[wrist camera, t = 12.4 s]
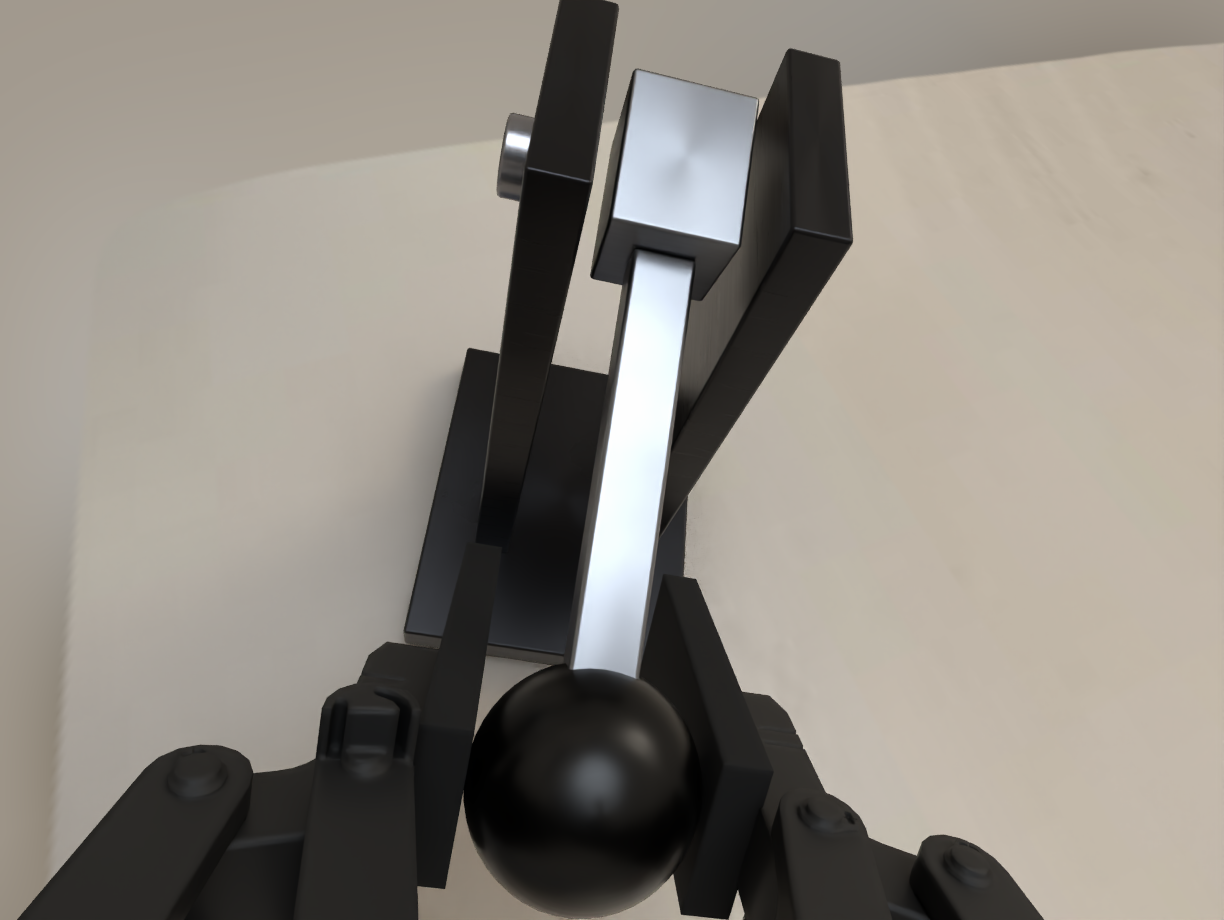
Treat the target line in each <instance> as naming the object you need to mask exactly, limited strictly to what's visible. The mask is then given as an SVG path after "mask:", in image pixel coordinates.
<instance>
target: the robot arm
mask: <svg viewBox="0 0 1224 920" xmlns="http://www.w3.org/2000/svg"><path fill="white" fill-rule="evenodd" d="M501 552H502V547H497V546H491V545H485V544H479V543H473V542H467V545H466V549H465V553H464V556H463V560H462V564H461V568H460V572H459V575H458V579H457V583H456V587H455V591H454V594H453V598H452V602H451V606H450V609H449V613H448V617H447V621H446V625H445V628H444V632H443V636H442V640H441V644H440V647H439V649H433V648H426V647H419V646H412V645H405V644H399V643H392V642H386V643H385V644H383V645H382V646H381V647H379V648H378V649H376V650H375V651H374V652H372V653H371V654H370V655H369V656H368V658H367V661H366V663H365V666H364V668H363V670H362V674H361V675H360V677H359V680H358V682H357V684H353V685H350V686H346V687H343V688H340V689H338V690H337V691H335V692H334V693H333V694H331V695H330V696H328V697H327V699H326V701H325V703H324V705H323V707H322V712H321V720H320V728H319V736H318V744H317V752H316V759H314V760H312V761H310V762H308V763H306V764H303V765H300V766H298V767H295V768H291V769H285V770H279V771H271V772H261V773H253V770H252V767H251V764H250V761H249V760H248V759H247V758H246V757H245V756H243V755H242V754H241V753H240V752H238V751H236V750H233V749H230V748H227V747H224V746H219V745H196V746H190V747H185V748H179V749H177V750H174V751H172V752H170V753H167V754H165V755H163V756H160V757H159V758H157V759H156V760H155V761H154V762H152V763H151V764H150V765H149V766H148V767H146V768H145V769H144V770H143V771H142V773H141V774H140V775H139V776H138V777H137V779H136V780H135V781H134V782H133V783H132V784H131V786H130V787H129V788H128V789H127V790H126V792H125V793H124V794H123V795H122V796H121V797H120V799H119V800H118V801H117V802H116V803H115V805H114V806H113V807H112V808H111V809H110V810H109V812H108V813H107V814H106V815H105V816H104V818H103V819H102V820H101V821H100V822H99V823H98V825H97V826H96V827H95V828H94V829H93V831H92V832H91V833H90V834H89V835H88V836H87V838H86V839H85V840H84V841H83V842H82V844H81V845H80V846H79V847H78V848H77V849H76V851H75V852H74V853H73V854H72V855H71V857H70V858H69V859H68V860H67V861H66V862H65V864H64V865H63V866H62V867H61V868H60V870H59V871H58V872H57V873H56V874H55V875H54V877H53V878H52V879H51V880H50V881H49V882H48V884H47V885H46V886H45V887H44V888H43V890H42V891H41V892H40V893H39V894H38V896H37V897H36V898H35V899H34V900H33V901H32V903H31V904H30V905H29V906H28V907H27V909H26V910H25V911H24V912H23V913H22V914H21V916H20V917H19V918H18V919H17V920H418V893H417V886H421V887H431V888H440V889H445V886H446V881H447V875H448V870H449V865H450V859H451V854H452V849H453V843H454V838H455V833H456V827H457V822H458V816H459V811H460V806H461V800H462V795H463V790H464V784H465V779H466V774H467V768H468V763H469V757H470V752H471V747H472V741H473V736H474V730H475V724H476V717H477V711H478V704H479V698H480V691H481V684H482V678H483V671H484V665H485V658H486V651H487V645H488V638H489V632H490V625H491V618H492V612H493V605H494V599H495V592H496V585H497V579H498V572H499V566H500V559H501ZM640 676H641V677H643V678H644V679H645V680H647V681H648V682H650V683H651V684H652V685H654V686H655V687H656V688H657V689H659V690H660V691H661V692H662V693H663V694H664V695H665V696H666V697H667V698H668V699H669V700H670V701H671V703H672V704H673V705H674V706H675V707H676V709H677V710H678V711H679V713H680V715H681V716H682V718H683V719H684V721H685V723H686V724H687V726H688V729H689V731H690V733H691V735H692V737H693V740H694V743H695V746H696V750H697V753H698V756H699V761H700V767H701V772H702V804H701V810H700V816H699V821H698V824H697V827H696V831H695V834H694V837H693V839H692V842H691V844H690V846H689V849H688V851H687V853H686V855H685V856H684V858H683V860H682V861H681V863H680V865H679V866H678V868H677V869H676V870H675V871H674V873H673V874H674V880H675V885H676V890H677V896H678V901H679V906H680V912H681V915H689V916H698V917H707V918H717V919H726V920H729V916H730V913H731V910H732V907H733V903H734V900H735V897H736V894H737V890H738V891H739V895H740V899H741V902H742V906H743V909H744V913H745V914H744V917H743V920H1044V919H1043V918H1042V916H1041V915H1040V914H1039V912H1038V911H1037V910H1036V908H1035V907H1034V906H1033V905H1032V903H1031V902H1030V901H1029V899H1028V898H1027V897H1026V895H1025V894H1024V893H1023V891H1022V890H1021V889H1020V888H1019V886H1018V885H1017V884H1016V882H1015V881H1014V880H1013V878H1012V877H1011V876H1010V874H1009V873H1008V872H1007V871H1006V870H1005V869H1004V868H1003V867H1002V865H1001V864H1000V863H999V862H998V861H997V860H996V859H995V858H994V857H992V856H991V855H989V854H988V853H986V852H985V851H984V850H982V849H981V848H980V847H978V846H976V845H974V844H972V843H969V842H968V841H966V840H963V839H960V838H956V837H952V836H947V835H934V836H929V837H928V838H927V839H925V840H924V841H923V842H922V844H921V846H920V849H919V852H918V854H917V856H916V855H913V854H910V853H907V852H904V851H902V850H899V849H896V848H893V847H890V846H888V845H885V844H882V843H880V842H878V841H875V840H873V839H871V838H869V837H868V834H867V831H866V828H865V826H864V824H863V822H862V820H861V818H860V817H859V815H858V814H857V813H856V812H854V811H853V810H852V809H851V808H850V807H849V806H848V805H847V804H846V803H844V802H842V801H841V800H839V799H838V798H836V797H834V796H833V795H830V794H827V793H826V792H825V790H824V788H823V786H822V784H821V782H820V780H819V778H818V776H817V774H816V772H815V769H814V767H813V765H812V763H811V761H810V759H809V757H808V755H807V753H806V751H805V749H803V745H802V742H801V740H800V738H799V736H798V735H797V734H796V730H795V728H794V726H793V724H792V722H791V720H790V717H789V715H788V713H787V712H786V711H785V710H784V709H783V708H782V707H781V706H780V705H779V704H778V703H776V702H775V701H774V700H773V699H772V698H771V697H770V696H768V695H761V694H754V693H747V692H742V691H741V689H740V686H739V684H738V681H737V679H736V676H735V674H734V671H733V669H732V666H731V664H730V662H729V659H728V657H727V654H726V652H725V649H724V647H723V644H722V642H721V639H720V637H719V634H718V632H717V629H716V627H715V625H714V622H713V620H712V617H711V615H710V612H709V610H708V607H707V605H706V602H705V600H704V597H703V595H702V592H701V590H700V588H699V585H698V583H697V580H696V579H692V578H686V577H680V576H674V575H668V574H663V577H662V581H661V585H660V589H659V593H658V598H657V602H656V606H655V610H654V614H653V618H652V622H651V626H650V630H649V634H648V638H647V642H646V647H645V651H644V655H643V659H642V663H641V669H640Z"/></svg>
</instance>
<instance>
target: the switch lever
mask: <svg viewBox="0 0 1224 920" xmlns="http://www.w3.org/2000/svg"><path fill="white" fill-rule="evenodd" d="M758 107H759V100H758V99H757V98H755V97H751V96H747V95H743V94H739V93H735V92H731V91H726V90H723V89H718V88H714V87H711V86H706V85H702V84H698V83H694V82H690V81H686V80H682V79H678V78H674V77H670V76H666V75H662V74H658V73H653V72H650V71H645V70H641V69H635V70H634V71H633V73H632V77H631V80H630V84H629V88H628V91H627V95H626V98H625V102H624V105H623V109H622V112H621V116H620V119H619V123H618V126H617V130H616V133H615V137H614V141H613V144H612V148H611V153H610V159H609V165H608V171H607V177H606V183H605V189H604V195H603V201H602V207H601V213H600V219H599V225H598V231H597V237H596V243H595V249H594V255H593V261H592V267H591V273H590V276H591V278H592V279H595V280H600V281H605V282H610V283H614V284H619V285H622V291H621V297H620V304H619V310H618V316H617V323H616V329H615V336H614V342H613V348H612V355H611V361H610V367H609V374H608V380H607V386H606V393H605V399H604V405H603V412H602V418H601V425H600V431H599V437H598V444H597V450H596V456H595V463H594V469H593V475H592V482H591V488H590V495H589V501H588V507H587V514H586V520H585V526H584V533H583V539H582V545H581V552H580V558H579V564H578V571H577V577H576V584H575V590H574V596H573V603H572V609H571V615H570V622H569V628H568V634H567V641H566V647H565V653H564V660H563V664H558V665H554V666H551V667H548V668H545V669H542V670H540V671H538V672H536V673H534V674H532V675H530V676H528V677H526V678H525V679H523V680H522V681H520V682H519V683H517V684H516V685H514V686H513V687H512V688H511V689H510V690H509V691H507V692H506V693H505V694H504V695H503V696H502V697H501V698H500V699H499V700H498V702H497V703H496V704H495V705H494V706H493V707H492V709H491V710H490V711H489V713H488V714H487V716H486V717H485V719H484V720H483V722H482V724H481V726H480V728H479V730H478V732H477V733H476V735H475V738H474V740H473V743H472V747H471V752H470V757H469V763H468V768H467V774H466V779H465V784H464V808H465V815H466V821H467V825H468V828H469V832H470V835H471V839H472V841H473V843H474V846H475V848H476V850H477V853H478V855H479V856H480V858H481V860H482V861H483V863H484V865H485V866H486V868H487V869H488V870H489V872H490V873H491V874H492V876H493V877H494V878H495V879H496V880H497V881H498V883H500V884H501V885H502V886H503V887H504V888H505V889H506V890H507V891H508V892H509V893H510V894H511V895H513V896H514V897H516V898H517V899H518V900H520V901H521V902H523V903H524V904H526V905H528V906H530V907H532V908H534V909H536V910H538V911H541V912H544V913H547V914H550V915H553V916H558V917H564V918H571V919H591V918H600V917H605V916H609V915H613V914H617V913H619V912H622V911H624V910H626V909H629V908H631V907H633V906H635V905H637V904H638V903H640V902H642V901H643V900H645V899H646V898H648V897H649V896H650V895H652V894H653V893H654V892H656V891H657V890H658V889H659V888H660V887H661V886H662V885H663V884H664V883H665V882H666V881H667V880H668V879H669V878H670V877H671V875H672V874H673V873H674V871H675V870H676V869H677V868H678V866H679V865H680V863H681V861H682V860H683V858H684V856H685V855H686V853H687V851H688V849H689V846H690V844H691V842H692V839H693V837H694V834H695V831H696V827H697V824H698V821H699V816H700V810H701V804H702V772H701V767H700V761H699V756H698V753H697V750H696V746H695V743H694V740H693V737H692V735H691V733H690V731H689V729H688V726H687V724H686V723H685V721H684V719H683V718H682V716H681V715H680V713H679V711H678V710H677V709H676V707H675V706H674V705H673V704H672V703H671V701H670V700H669V699H668V698H667V697H666V696H665V695H664V694H663V693H662V692H661V691H660V690H659V689H657V688H656V687H655V686H654V685H652V684H651V683H650V682H648V681H647V680H645V679H644V678H643V677H641V676H640V669H641V662H642V655H643V647H644V640H645V633H646V626H647V618H648V611H649V604H650V596H651V589H652V582H653V575H654V567H655V560H656V553H657V545H658V538H659V531H660V524H661V516H662V509H663V502H664V495H665V487H666V480H667V473H668V465H669V458H670V451H671V444H672V436H673V429H674V422H675V414H676V407H677V400H678V393H679V385H680V378H681V371H682V363H683V356H684V349H685V342H686V334H687V327H688V320H689V313H690V305H691V300H696V301H702V300H703V299H704V297H705V296H706V295H707V293H708V292H709V290H710V289H711V288H712V286H713V285H714V283H715V282H716V281H717V279H718V278H719V276H720V275H721V274H722V272H723V271H724V269H725V268H726V267H727V265H728V264H729V262H730V261H731V260H732V258H733V257H734V255H735V254H736V253H737V251H738V250H739V248H740V247H741V243H742V235H743V227H744V219H745V211H746V203H747V195H748V187H749V179H750V171H751V163H752V155H753V147H754V139H755V131H756V123H757V115H758Z"/></svg>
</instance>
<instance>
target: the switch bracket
mask: <svg viewBox="0 0 1224 920" xmlns="http://www.w3.org/2000/svg"><path fill="white" fill-rule="evenodd" d="M618 12H619V6H618V4H616V3H613V2H609V1H605V0H560V2H559V6H558V11H557V15H556V20H555V25H554V29H553V34H552V39H551V43H550V48H549V53H548V58H547V62H546V67H545V72H544V77H543V81H542V86H541V91H540V95H539V100H538V105H537V109H536V114H535V118H533V117H529V116H524V115H520V114H516V113H511V114H510V115H509V117H508V120H507V124H506V128H505V133H504V138H503V144H502V149H501V156H500V162H499V170H498V178H497V195H498V196H499V197H500V198H505V199H509V200H514V201H518V202H519V210H518V218H517V225H516V233H515V241H514V248H513V256H512V264H511V271H510V279H509V287H508V294H507V302H506V310H505V317H504V325H503V333H502V340H501V348H500V354H498V353H493V352H488V351H483V350H477V349H472V348H468V350H467V353H466V357H465V362H464V366H463V371H462V375H461V380H460V384H459V388H458V393H457V397H456V402H455V406H454V410H453V415H452V419H451V424H450V428H449V433H448V437H447V441H446V446H445V450H444V455H443V459H442V463H441V468H440V472H439V477H438V481H437V486H436V490H435V494H434V499H433V503H432V508H431V512H430V516H429V521H428V525H427V530H426V534H425V538H424V543H423V547H422V552H421V556H420V561H419V565H418V569H417V574H416V578H415V583H414V587H413V591H412V596H411V600H410V605H409V609H408V614H407V618H406V622H405V627H404V638H405V642H406V643H408V644H415V645H422V646H428V647H435V648H439V647H440V644H441V640H442V636H443V632H444V628H445V625H446V621H447V617H448V613H449V609H450V606H451V602H452V598H453V594H454V591H455V587H456V583H457V579H458V575H459V572H460V568H461V564H462V560H463V556H464V553H465V549H466V545H467V542H473V543H479V544H485V545H491V546H497V547H502V552H501V559H500V566H499V572H498V579H497V585H496V592H495V599H494V605H493V612H492V618H491V625H490V632H489V638H488V645H487V651H486V655H490V656H497V657H504V658H511V659H518V660H525V661H531V662H538V663H545V664H552V665H558V664H563V660H564V653H565V647H566V641H567V634H568V628H569V622H570V615H571V609H572V603H573V596H574V590H575V584H576V577H577V571H578V564H579V558H580V552H581V545H582V539H583V533H584V526H585V520H586V514H587V507H588V501H589V495H590V488H591V482H592V475H593V469H594V463H595V456H596V450H597V444H598V437H599V431H600V425H601V418H602V412H603V405H604V399H605V393H606V386H607V380H608V375H606V374H601V373H596V372H591V371H585V370H580V369H575V368H570V367H565V366H560V365H555V364H551V362H552V358H553V354H554V349H555V345H556V341H557V336H558V332H559V328H560V323H561V319H562V315H563V310H564V306H565V302H566V297H567V293H568V289H569V284H570V280H571V276H572V271H573V267H574V263H575V258H576V254H577V250H578V245H579V241H580V237H581V232H582V228H583V224H584V219H585V215H586V211H587V206H588V202H589V198H590V193H591V189H592V185H593V178H594V172H595V165H596V158H597V152H598V145H599V138H600V132H601V125H602V118H603V112H604V104H605V98H606V92H607V85H608V78H609V72H610V65H611V57H612V52H613V45H614V38H615V31H616V24H617V18H618ZM852 243H853V234H852V220H851V206H850V193H849V179H848V165H847V152H846V138H845V125H844V111H843V97H842V84H841V70H840V62H839V61H837V60H835V59H831V58H827V57H823V56H819V55H815V54H812V53H807V52H804V51H800V50H796V49H788V50H787V52H786V54H785V56H784V58H783V61H782V63H781V65H780V68H779V70H778V72H777V75H776V77H775V79H774V82H773V84H772V86H771V89H770V91H769V94H768V96H767V98H766V101H765V103H764V105H763V108H762V110H761V112H760V115H759V117H758V119H757V123H756V131H755V139H754V147H753V155H752V163H751V171H750V179H749V187H748V195H747V203H746V211H745V219H744V227H743V235H742V243H741V247H740V248H739V250H738V251H737V253H736V254H735V255H734V257H733V258H732V260H731V261H730V262H729V264H728V265H727V267H726V268H725V269H724V271H723V272H722V274H721V275H720V276H719V278H718V279H717V281H716V282H715V283H714V285H713V286H712V288H711V289H710V290H709V292H708V293H707V295H706V296H705V297H704V299H703V300H702V301H696V300H691V305H690V313H689V320H688V327H687V334H686V342H685V349H684V356H683V363H682V371H681V378H680V385H679V393H678V400H677V407H676V414H675V422H674V429H673V436H672V444H671V451H670V458H669V465H668V473H667V480H666V487H665V495H664V502H663V509H662V516H661V524H660V531H659V538H658V545H657V553H656V560H655V567H654V575H653V582H652V589H651V596H650V604H649V611H648V618H647V626H646V633H645V640H644V647H643V655H644V651H645V647H646V642H647V638H648V634H649V630H650V626H651V622H652V618H653V614H654V610H655V606H656V602H657V598H658V593H659V589H660V585H661V581H662V577H663V574H668V575H674V576H680V577H684V558H685V539H686V520H687V501H688V494H689V493H690V491H691V490H692V488H693V487H694V485H695V483H696V482H697V480H698V479H699V477H700V476H701V474H702V473H703V471H704V470H705V468H706V467H707V465H708V464H709V462H710V461H711V459H712V457H713V456H714V454H715V453H716V451H717V450H718V448H719V447H720V445H721V444H722V442H723V441H724V439H725V438H726V436H727V435H728V433H729V432H730V430H731V428H732V427H733V425H734V424H735V422H736V421H737V419H738V418H739V416H740V415H741V413H742V412H743V410H744V409H745V407H746V406H747V404H748V402H749V401H750V399H751V398H752V396H753V395H754V393H755V392H756V390H757V389H758V387H759V386H760V384H761V383H762V381H763V380H764V378H765V376H766V375H767V373H768V372H769V370H770V369H771V367H772V366H773V364H774V363H775V361H776V360H777V358H778V357H779V355H780V354H781V352H782V351H783V349H784V347H785V346H786V344H787V343H788V341H789V340H790V338H791V337H792V335H793V334H794V332H795V331H796V329H797V328H798V326H799V325H800V323H801V321H802V320H803V318H804V317H805V315H806V314H807V312H808V311H809V309H810V308H811V306H812V305H813V303H814V302H815V300H816V299H817V297H818V295H819V294H820V292H821V291H822V289H823V288H824V286H825V285H826V283H827V282H828V280H829V279H830V277H831V276H832V274H833V273H834V271H835V270H836V268H837V266H838V265H839V263H840V262H841V260H842V259H843V257H844V256H845V254H846V253H847V251H848V250H849V248H850V247H851V245H852ZM643 655H642V659H643ZM641 663H642V662H641Z"/></svg>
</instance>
